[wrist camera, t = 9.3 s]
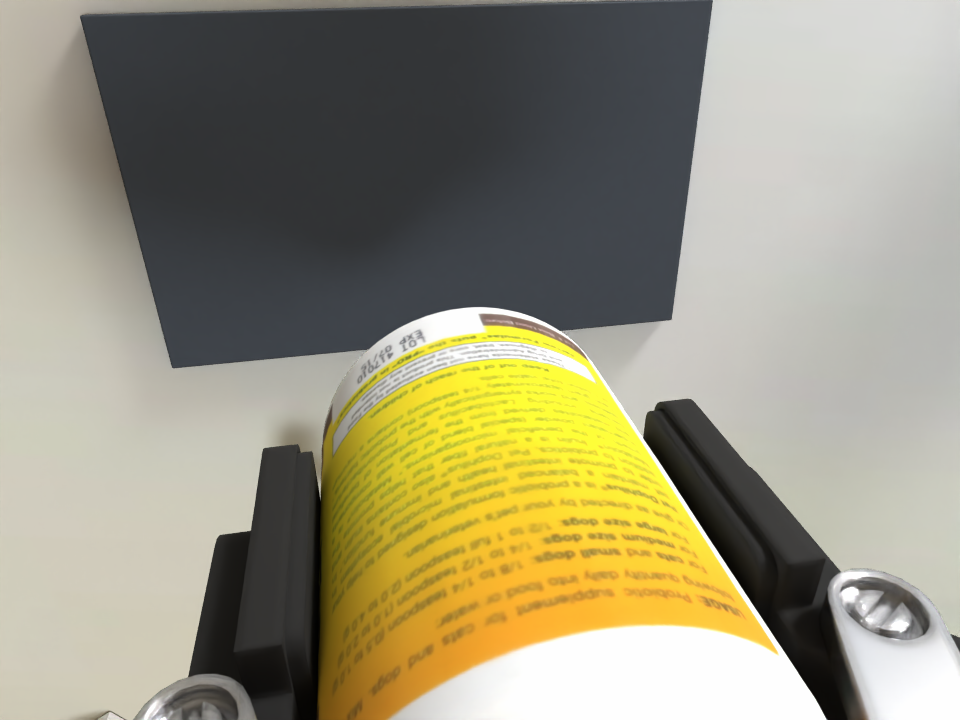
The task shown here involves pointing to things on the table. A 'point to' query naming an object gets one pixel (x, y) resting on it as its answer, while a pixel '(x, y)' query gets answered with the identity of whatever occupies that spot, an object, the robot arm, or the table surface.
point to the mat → (401, 165)
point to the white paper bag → (110, 717)
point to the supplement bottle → (519, 547)
